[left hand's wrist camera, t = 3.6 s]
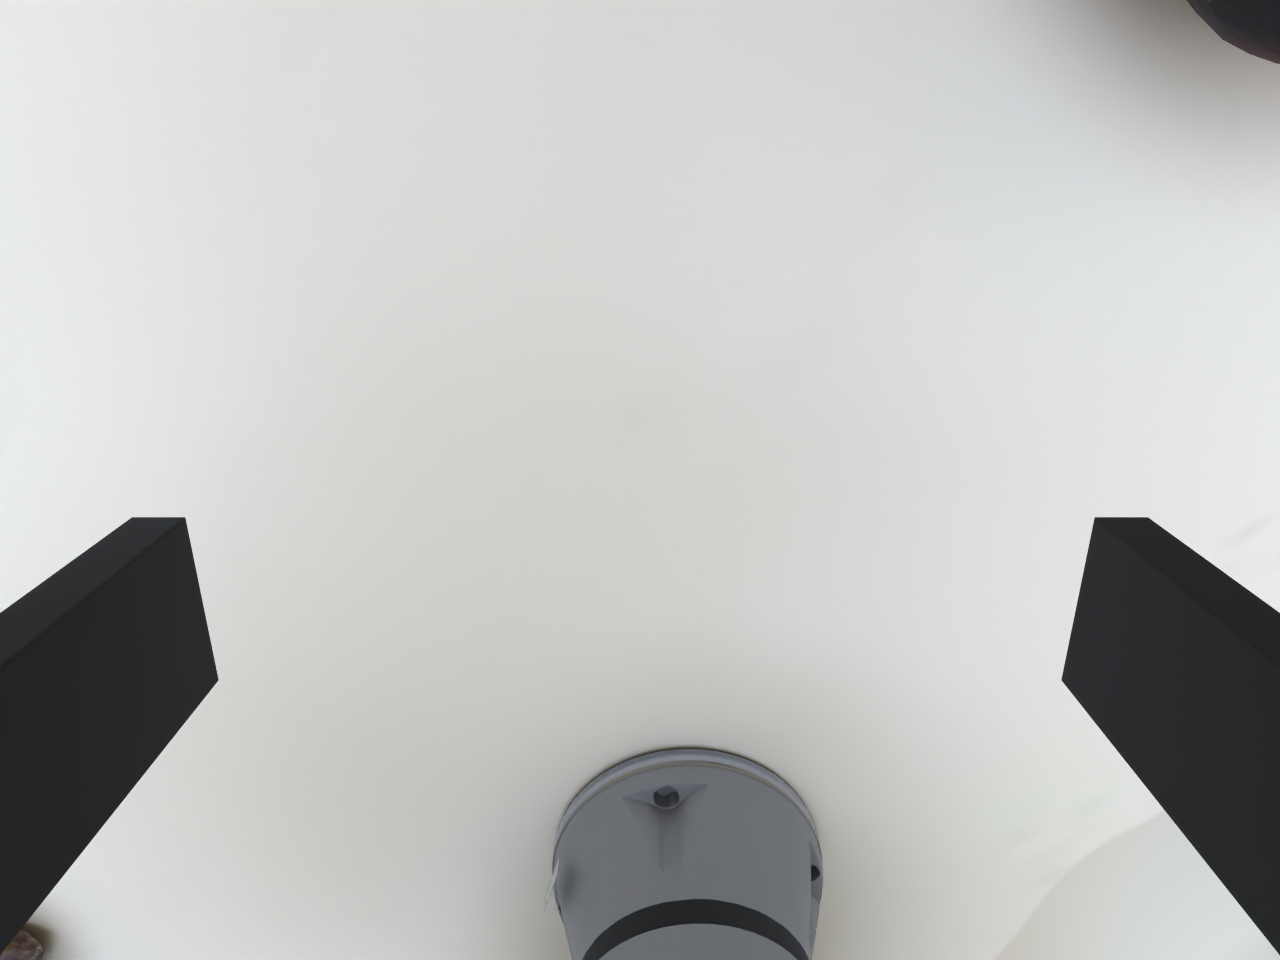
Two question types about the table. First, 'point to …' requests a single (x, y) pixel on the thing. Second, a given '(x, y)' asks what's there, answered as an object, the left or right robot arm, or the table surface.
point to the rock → (23, 948)
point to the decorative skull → (1245, 24)
